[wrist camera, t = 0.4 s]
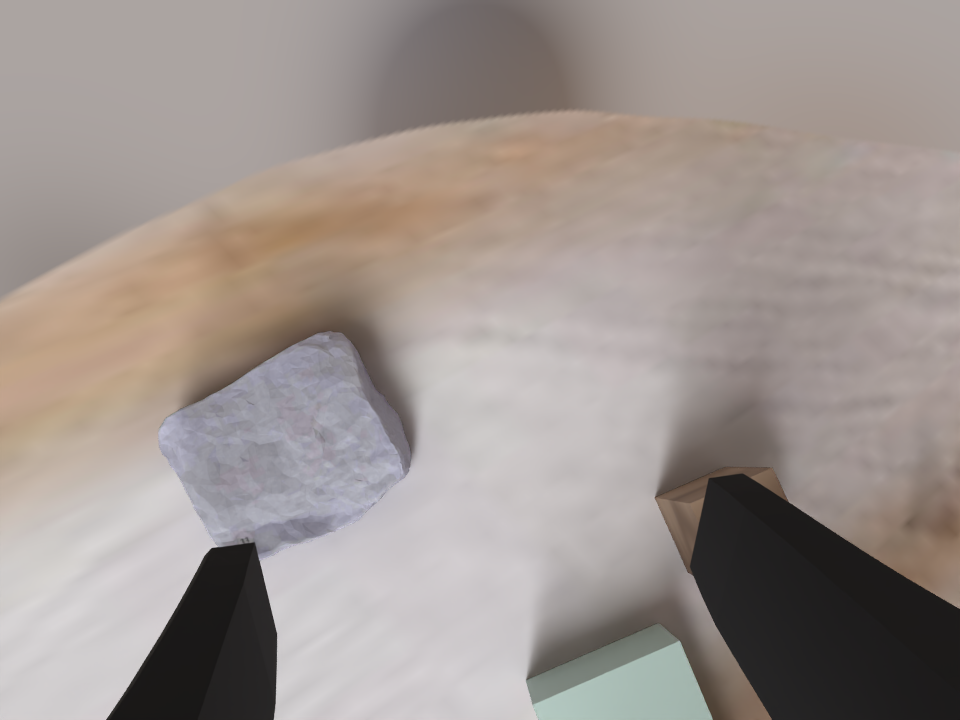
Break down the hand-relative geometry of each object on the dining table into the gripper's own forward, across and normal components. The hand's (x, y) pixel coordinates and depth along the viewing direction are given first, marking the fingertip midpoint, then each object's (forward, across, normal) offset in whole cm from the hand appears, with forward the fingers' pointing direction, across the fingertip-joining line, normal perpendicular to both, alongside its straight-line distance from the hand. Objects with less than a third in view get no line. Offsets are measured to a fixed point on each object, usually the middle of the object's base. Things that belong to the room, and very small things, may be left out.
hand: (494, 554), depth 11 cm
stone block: (+25, +6, +16) cm, 30 cm away
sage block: (+12, -10, +27) cm, 32 cm away
